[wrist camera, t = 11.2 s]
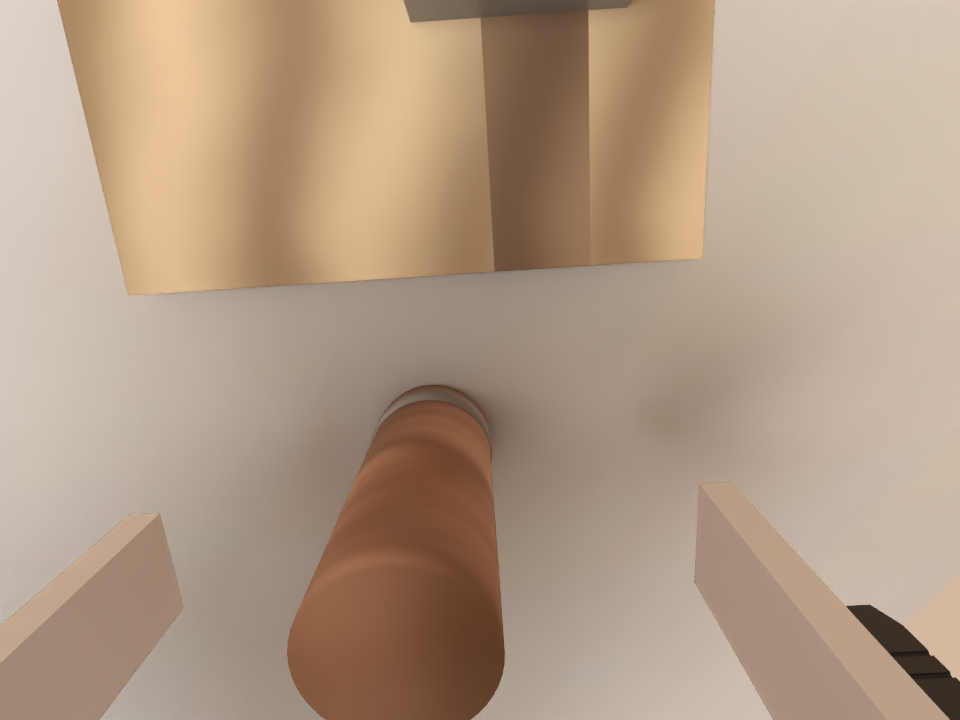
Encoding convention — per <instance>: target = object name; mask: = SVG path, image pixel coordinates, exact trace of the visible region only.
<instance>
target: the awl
mask: <svg viewBox="0 0 960 720" xmlns="http://www.w3.org/2000/svg"><path fill="white" fill-rule="evenodd" d="M491 454H492V452H491V439H490V432H489V429H488V426H487V423H486V420H485V418H484V415H483V414H482V412H481V410H480V409H479V408H478V406H477V405H476V404H475V403H474V402H473V401H472V400H471V399H470V398H468V397H467V396H466V395H464V394H462V393H460V392H459V391H456V390H454V389H451V388H447V387H442V386H424V387H419V388H415V389H412V390H410V391H408V392H406V393H404V394H402V395H401V396H400V397H398V398H397V399H396V400H395V401H394V402H393V403H392V404H391V405H390V406H389V407H388V409H387V410H386V411H385V412H384V414H383V416H382V417H381V419H380V421H379V423H378V426H377V428H376V430H375V433H374V435H373V438H372V442H371V445H370V448H369V450H368V452H367V455H366V457H365V459H364V461H363V464H362V466H361V468H360V471H359V473H358V475H357V477H356V480H355V482H354V484H353V487H352V489H351V491H350V493H349V496H348V498H347V500H346V503H345V505H344V507H343V510H342V512H341V514H340V516H339V519H338V521H337V523H336V526H335V528H334V530H333V532H332V535H331V537H330V539H329V542H328V544H327V546H326V548H325V551H324V553H323V555H322V558H321V560H320V562H319V564H318V567H317V569H316V571H315V574H314V576H313V578H312V581H311V583H310V585H309V587H308V590H307V592H306V594H305V597H304V599H303V601H302V603H301V606H300V608H299V610H298V613H297V615H296V617H295V619H294V622H293V625H292V627H291V630H290V634H289V639H288V648H287V656H288V665H289V668H290V672H291V676H292V678H293V680H294V683H295V685H296V687H297V689H298V690H299V692H300V693H301V695H302V697H303V698H304V699H305V700H306V702H307V703H308V704H309V705H310V706H311V707H312V708H313V709H314V710H315V711H316V712H317V713H318V714H319V715H320V716H322V717H323V718H325V719H326V720H471V719H472V718H473V717H474V716H476V715H477V714H478V713H479V712H480V711H481V710H482V709H483V708H484V707H485V706H486V705H487V703H488V702H489V701H490V699H491V698H492V697H493V695H494V693H495V691H496V689H497V687H498V686H499V683H500V680H501V677H502V674H503V668H504V658H505V650H504V637H503V623H502V609H501V595H500V582H499V568H498V554H497V541H496V527H495V513H494V500H493V486H492V472H491Z"/></svg>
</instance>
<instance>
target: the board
mask: <svg viewBox="0 0 960 720" xmlns="http://www.w3.org/2000/svg"><path fill="white" fill-rule="evenodd" d="M57 2H58V6H59V10H60V14H61V18H62V22H63V26H64V31H65V35H66V39H67V43H68V47H69V51H70V55H71V60H72V64H73V68H74V72H75V76H76V80H77V85H78V89H79V93H80V97H81V101H82V105H83V109H84V114H85V118H86V122H87V126H88V130H89V134H90V138H91V143H92V147H93V151H94V155H95V159H96V163H97V168H98V172H99V176H100V180H101V184H102V188H103V192H104V197H105V201H106V205H107V209H108V213H109V217H110V221H111V226H112V230H113V234H114V238H115V242H116V246H117V250H118V255H119V259H120V263H121V267H122V271H123V275H124V280H125V284H126V288H127V292H128V296H129V295H144V294H159V293H175V292H190V291H205V290H221V289H236V288H251V287H266V286H282V285H297V284H312V283H328V282H343V281H358V280H374V279H389V278H404V277H420V276H435V275H450V274H465V273H481V272H496V271H511V270H527V269H542V268H557V267H573V266H588V265H603V264H618V263H634V262H649V261H664V260H680V259H695V258H702V254H703V233H704V212H705V191H706V170H707V149H708V128H709V107H710V86H711V65H712V44H713V23H714V2H715V0H632V1H631V2H630V4H629V5H628V6H627V8H615V9H601V10H586V11H571V12H557V13H542V14H528V15H513V16H499V17H484V18H469V19H455V20H440V21H426V22H410V19H409V16H408V13H407V10H406V7H405V4H404V0H57Z"/></svg>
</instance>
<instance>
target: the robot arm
mask: <svg viewBox="0 0 960 720" xmlns="http://www.w3.org/2000/svg"><path fill="white" fill-rule="evenodd" d="M694 582H695V584H696V586H697V587H698V589H699V591H700V593H701V594H702V596H703V598H704V600H705V601H706V603H707V605H708V607H709V608H710V610H711V612H712V614H713V615H714V617H715V619H716V621H717V622H718V624H719V626H720V628H721V629H722V631H723V633H724V635H725V636H726V638H727V640H728V642H729V643H730V645H731V647H732V649H733V650H734V652H735V654H736V656H737V657H738V659H739V661H740V663H741V664H742V666H743V668H744V670H745V671H746V673H747V675H748V677H749V678H750V680H751V682H752V684H753V685H754V687H755V689H756V691H757V692H758V694H759V696H760V698H761V699H762V701H763V703H764V705H765V706H766V708H767V710H768V712H769V713H770V715H771V717H772V719H773V720H960V681H959V680H958V679H956V678H952V676H951V674H950V671H949V670H947V668H945V666H944V665H942V664H941V663H940V662H939V661H938V660H937V659H936V658H935V657H934V656H930V655H929V652H928V650H927V649H926V648H925V647H924V646H923V645H922V644H921V643H920V642H919V641H918V640H917V639H916V638H915V637H914V636H913V635H912V634H911V633H910V632H909V631H908V630H907V629H906V628H905V627H904V626H903V625H901V624H900V623H898V622H897V621H895V620H893V619H892V618H890V617H889V616H887V615H885V614H884V613H882V612H881V611H879V610H877V609H876V608H874V607H873V606H871V605H856V606H845V605H844V604H843V603H842V602H841V601H840V600H839V599H838V597H837V596H836V595H835V594H834V593H833V592H832V591H831V590H830V589H829V588H828V587H827V585H826V584H825V583H824V582H823V581H822V580H821V579H820V578H819V577H818V576H817V575H816V573H815V572H814V571H813V570H812V569H811V568H810V567H809V566H808V565H807V564H806V563H805V562H804V560H803V559H802V558H801V557H800V556H799V555H798V554H797V553H796V552H795V551H794V550H793V548H792V547H791V546H790V545H789V544H788V543H787V542H786V541H785V540H784V539H783V538H782V536H781V535H780V534H779V533H778V532H777V531H776V530H775V529H774V528H773V527H772V526H771V525H770V523H769V522H768V521H767V520H766V519H765V518H764V517H763V516H762V515H761V514H760V513H759V511H758V510H757V509H756V508H755V507H754V506H753V505H752V504H751V503H750V502H749V501H748V499H747V498H746V497H745V496H744V495H743V494H742V493H741V492H740V491H739V490H738V489H737V487H736V486H735V485H734V484H733V483H732V482H724V483H706V484H699V500H698V519H697V538H696V557H695V576H694ZM183 608H184V607H183V603H182V600H181V596H180V592H179V588H178V584H177V580H176V576H175V572H174V568H173V564H172V560H171V556H170V552H169V548H168V544H167V540H166V536H165V533H164V529H163V525H162V521H161V517H160V513H157V514H139V515H128V516H127V517H126V518H125V519H124V520H123V521H121V522H120V523H119V524H118V525H117V526H116V527H114V528H113V529H112V530H111V531H110V532H109V533H107V534H106V535H105V536H104V537H103V538H102V539H100V540H99V541H98V542H97V543H96V544H95V545H94V546H92V547H91V548H90V549H89V550H88V551H87V552H85V553H84V554H83V555H82V556H81V557H80V558H78V559H77V560H76V561H75V562H74V563H73V564H72V565H70V566H69V567H68V568H67V569H66V570H65V571H63V572H62V573H61V574H60V575H59V576H58V577H56V578H55V579H54V580H53V581H52V582H51V583H49V584H48V585H47V586H46V587H45V588H44V589H43V590H41V591H40V592H39V593H38V594H37V595H36V596H34V597H33V598H32V599H31V600H30V601H29V602H27V603H26V604H25V605H24V606H23V607H22V608H20V609H19V610H18V611H17V612H16V613H15V614H14V615H12V616H11V617H10V618H9V619H8V620H7V621H5V622H4V623H3V624H2V625H1V626H0V720H99V719H100V718H101V717H102V715H103V714H104V713H105V711H106V710H107V709H108V707H109V706H110V705H111V703H112V702H113V701H114V699H115V698H116V697H117V695H118V694H119V693H120V692H121V690H122V689H123V688H124V686H125V685H126V684H127V682H128V681H129V680H130V678H131V677H132V676H133V674H134V673H135V672H136V670H137V669H138V668H139V666H140V665H141V664H142V662H143V661H144V660H145V658H146V657H147V656H148V654H149V653H150V652H151V650H152V649H153V648H154V646H155V645H156V644H157V642H158V641H159V640H160V638H161V637H162V636H163V634H164V633H165V632H166V630H167V629H168V628H169V626H170V625H171V624H172V622H173V621H174V620H175V618H176V617H177V616H178V614H179V613H180V612H181V610H182V609H183Z"/></svg>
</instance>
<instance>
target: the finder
mask: <svg viewBox="0 0 960 720" xmlns="http://www.w3.org/2000/svg"><path fill="white" fill-rule="evenodd" d="M631 1H632V0H404V4H405V7H406V10H407V13H408V16H409V19H410V22H426V21H440V20H455V19H469V18H484V17H499V16H513V15H528V14H542V13H557V12H571V11H586V10H601V9H615V8H627V6H628V5H629V4H630V2H631Z"/></svg>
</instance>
